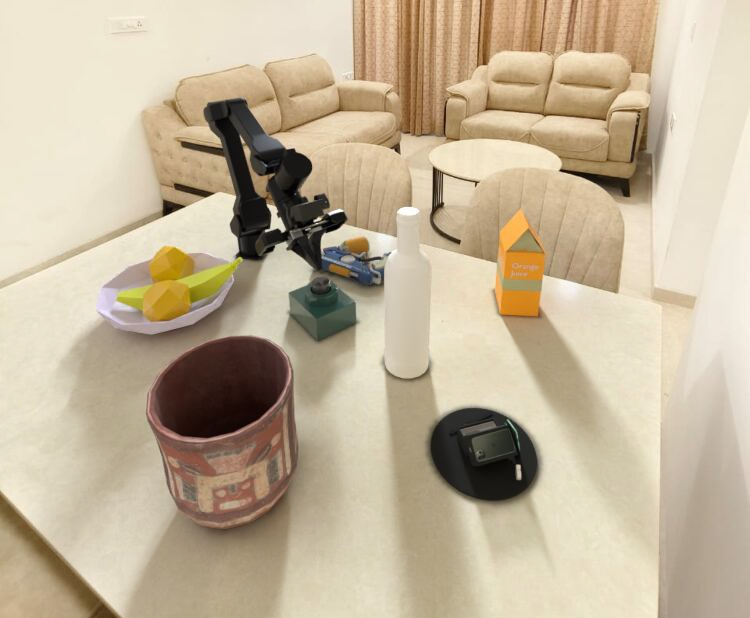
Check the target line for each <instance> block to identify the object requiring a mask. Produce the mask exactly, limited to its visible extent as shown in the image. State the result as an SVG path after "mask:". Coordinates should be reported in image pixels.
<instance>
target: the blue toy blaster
mask: <svg viewBox="0 0 750 618" xmlns="http://www.w3.org/2000/svg"><path fill="white" fill-rule="evenodd" d="M370 247H371V246H370V242H369V239H368V238H367V237H366V236H359V237H354V238H349V239H345V240H343V241H342V242H341V243H340V244H338V245H337V246H336V245H335V246H327V247H323V248H322V249H321V257H322V270H324V271H327V272H330V273H332V274H335V275H338V276H341V277H344V278H347V279H349V280H352V281H355V282H358V283H360V284H362V285H366V286H370V285H373V284H374V285H380V284H381V283H382V280H384V268H385V265H386V262H387V259H388V257H389V254H391V253H392V252H393V251H390V252H384V253H383V255H382V256H379V255H377V256H373V257H369V258H367V254H368V253H369V251H370V249H371V248H370ZM374 261H375V262H374ZM371 262H372V263H371ZM366 263H367V264H366ZM364 264H366V265H364Z"/></svg>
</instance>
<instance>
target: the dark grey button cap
mask: <svg viewBox="0 0 750 618" xmlns="http://www.w3.org/2000/svg"><path fill="white" fill-rule="evenodd" d="M330 281H331V280H330V278H329V277H327V276H324V275H319V276H315V277H314V278H313V279H312V280H311V281H310V282H311V283H312V292H313V293H314V294H317V295H322V294H326V293H329V292H330Z"/></svg>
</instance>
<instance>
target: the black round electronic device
mask: <svg viewBox="0 0 750 618" xmlns="http://www.w3.org/2000/svg"><path fill="white" fill-rule="evenodd" d="M430 454H431V458H432V461H433V464H434V466H435V468H436V469H437V471H438V473H439V474H440V476H441V477H442V478H443V479H444V481H446V482H447V483H448V484H449V485H450V486H451V487H452V488H454V489H456V490H457V491H459V492H460V493H462V494H464V495H466V496H469V497H472V498H474V499H478V500H483V501H491V502H492V501H493V502H494V501H495V502H497V501H504V500H508V499H511V498H512V499H513V498H515V497H517V496H519V495H520V494H522V493H523V492H525V491H526V490H527V489H528V488H529V486H530V485H531V484H532V482H533V480H534V478H535V475H536V473H537V469H538V457H537V451H536V448H535V446H534V443H533V442H532V440H531V438H530V437H529V435H528V433H527V432H526V431H525V430H524V428H522V427H521V426H520V425H519V424H518V423H517V422H515V421H514V420H513V419H512V418H510V417H508V416H506V415H505V414H503V413H500V412H497V411H495V410H491V409H488V408H482V407H481V408H480V407H467V408H461V409H457V410H455V411H452V412H450V413H448V414H446V415H445V416H443V418H442V419H440V421H439V422H437V424H436V426H435V427H434V429H433V431H432V434H431V438H430Z"/></svg>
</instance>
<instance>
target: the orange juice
mask: <svg viewBox="0 0 750 618" xmlns="http://www.w3.org/2000/svg"><path fill="white" fill-rule="evenodd" d="M546 256H547V254H546V250H545V248H544V246H543V244H542V241H541V239H540V237H539V234H538V233H537V231H536V230H535V229H534V227H533V226H532V224H531V223H530V220H528V218H527V216H526V215H525V213H524V212H523V210H522V208H520V209H519V210H518V211H517V212H516V213H515V214H514V215H513V217H512V218H511V219H510V220H509V221H508V222H507V223H506V224H505V225H504V226H503V227H502V229H500V231H499V239H498V252H497V257H496V258H497V259H496V273H495V282H494V283H495V284H494V293H495V297H496V302H497V307H498V312H499V315H502V316H519V317H520V316H521V317H522V316H523V317H538V316H539V308H540V301H541V295H542V294H541V293H542V287H543V279H544V272H545V263H546Z"/></svg>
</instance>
